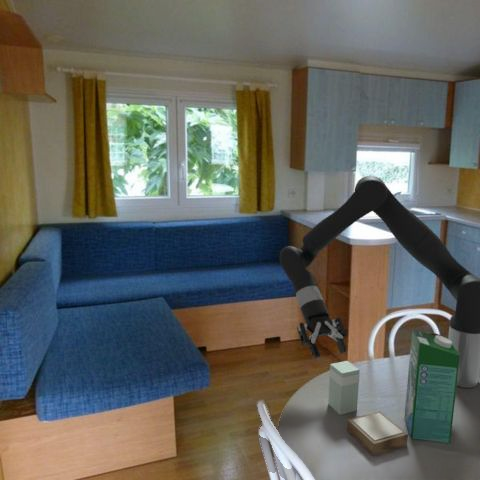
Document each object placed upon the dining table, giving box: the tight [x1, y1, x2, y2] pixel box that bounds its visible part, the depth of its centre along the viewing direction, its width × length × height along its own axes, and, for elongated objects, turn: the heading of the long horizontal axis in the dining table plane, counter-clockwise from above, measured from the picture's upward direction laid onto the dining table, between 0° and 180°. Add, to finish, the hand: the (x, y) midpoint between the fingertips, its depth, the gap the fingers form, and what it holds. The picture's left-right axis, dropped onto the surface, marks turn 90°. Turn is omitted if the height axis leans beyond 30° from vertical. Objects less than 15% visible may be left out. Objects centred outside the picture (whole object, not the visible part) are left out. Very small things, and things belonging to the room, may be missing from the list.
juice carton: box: [327, 360, 360, 416], centre depth 116 cm, size 6×6×12 cm
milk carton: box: [404, 328, 460, 444], centre depth 105 cm, size 9×9×25 cm
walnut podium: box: [346, 411, 409, 457], centre depth 104 cm, size 10×10×3 cm
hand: (331, 355), depth 120 cm, fingers open, 8 cm apart
